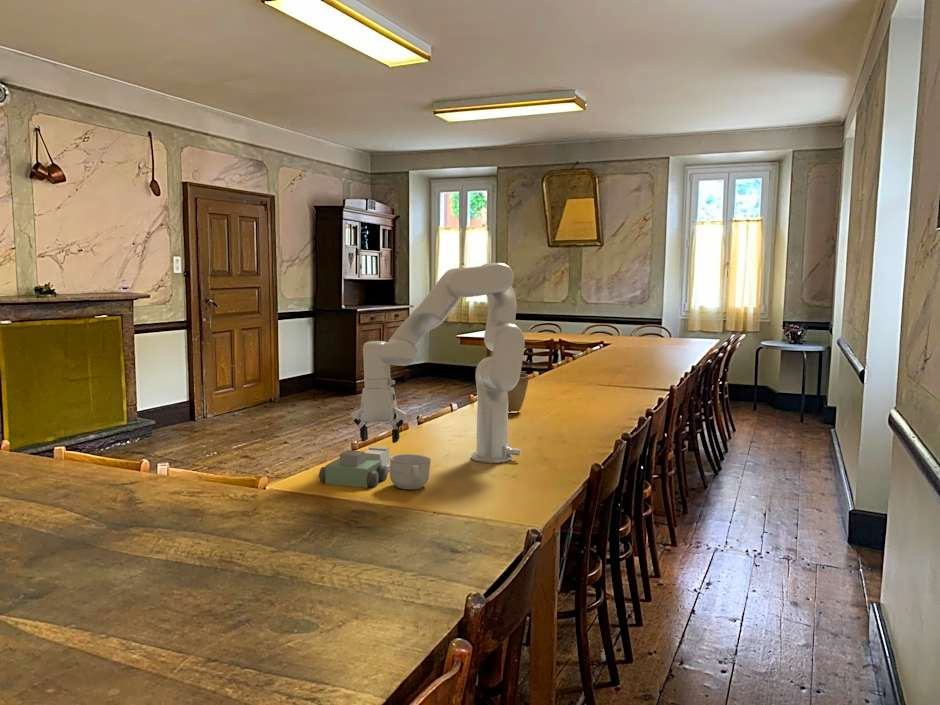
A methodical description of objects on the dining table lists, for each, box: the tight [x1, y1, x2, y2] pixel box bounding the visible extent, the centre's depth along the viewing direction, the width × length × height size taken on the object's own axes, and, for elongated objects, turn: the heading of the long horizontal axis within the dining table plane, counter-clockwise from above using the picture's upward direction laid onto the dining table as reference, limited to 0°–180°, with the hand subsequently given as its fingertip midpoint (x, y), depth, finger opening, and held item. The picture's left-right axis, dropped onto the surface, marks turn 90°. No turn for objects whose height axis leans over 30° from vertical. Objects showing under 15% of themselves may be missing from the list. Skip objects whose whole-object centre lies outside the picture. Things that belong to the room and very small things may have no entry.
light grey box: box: [365, 445, 390, 466], centre depth 211 cm, size 6×7×6 cm
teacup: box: [389, 453, 432, 490], centre depth 189 cm, size 14×11×8 cm
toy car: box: [318, 449, 390, 489], centre depth 200 cm, size 16×19×8 cm
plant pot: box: [507, 372, 530, 412], centre depth 302 cm, size 15×15×16 cm
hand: (379, 441), depth 211 cm, fingers open, 9 cm apart
